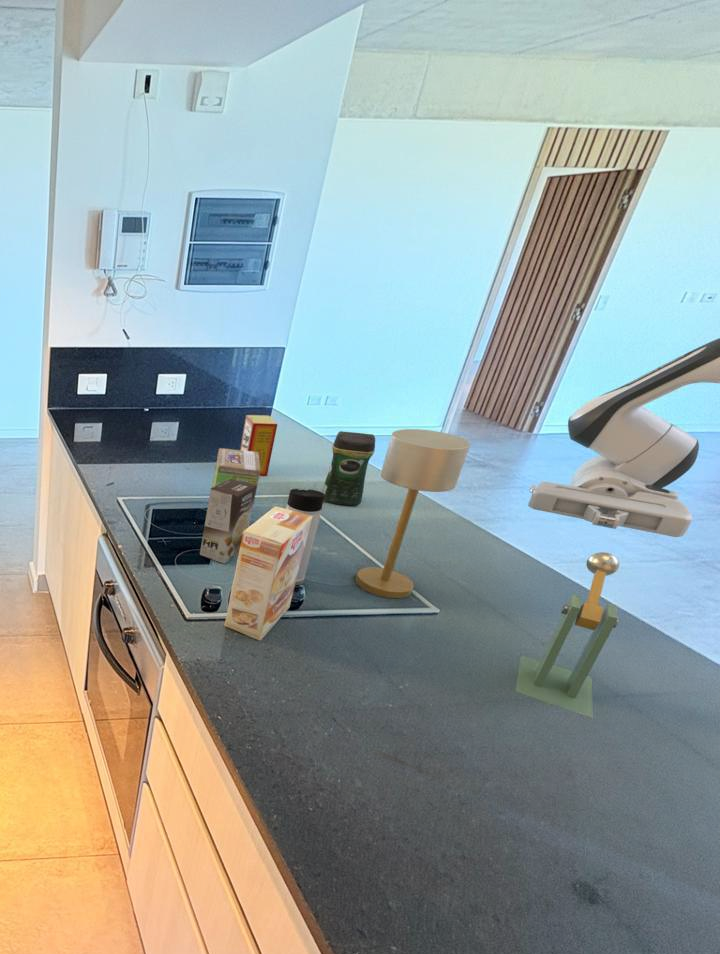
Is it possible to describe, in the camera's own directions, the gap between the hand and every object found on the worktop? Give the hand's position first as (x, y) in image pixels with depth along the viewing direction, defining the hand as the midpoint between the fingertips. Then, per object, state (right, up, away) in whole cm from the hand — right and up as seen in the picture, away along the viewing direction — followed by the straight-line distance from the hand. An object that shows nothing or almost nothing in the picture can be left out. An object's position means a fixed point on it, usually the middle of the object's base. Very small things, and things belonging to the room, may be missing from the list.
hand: (606, 522), depth 101 cm
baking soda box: (-24, +18, +85) cm, 90 cm away
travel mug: (-40, -11, +26) cm, 49 cm away
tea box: (-41, +4, +57) cm, 70 cm away
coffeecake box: (-52, -17, +14) cm, 56 cm away
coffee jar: (-9, +8, +64) cm, 65 cm away
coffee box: (-50, -6, +37) cm, 62 cm away
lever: (-10, -11, -8) cm, 17 cm away
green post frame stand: (-13, -27, -5) cm, 30 cm away
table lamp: (-22, -12, +24) cm, 35 cm away
